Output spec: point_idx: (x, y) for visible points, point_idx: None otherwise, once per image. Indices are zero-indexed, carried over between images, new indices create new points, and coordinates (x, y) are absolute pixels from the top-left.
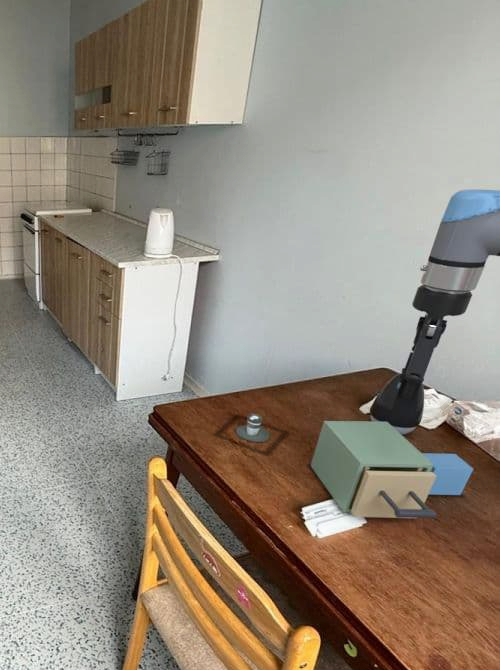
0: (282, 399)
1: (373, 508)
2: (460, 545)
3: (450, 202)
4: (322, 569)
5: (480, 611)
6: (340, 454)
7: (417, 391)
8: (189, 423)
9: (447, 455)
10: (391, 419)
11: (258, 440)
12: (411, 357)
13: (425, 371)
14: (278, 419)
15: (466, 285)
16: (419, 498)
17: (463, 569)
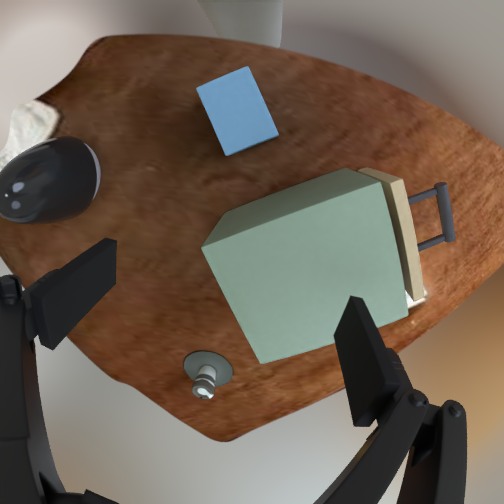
0: (82, 324)
1: None
2: (394, 118)
3: None
4: (466, 289)
5: (485, 144)
6: None
7: (386, 354)
8: (223, 423)
9: (210, 103)
10: (89, 188)
11: (225, 364)
12: (61, 333)
13: (464, 440)
14: (143, 336)
15: None
16: (413, 197)
17: (437, 134)
